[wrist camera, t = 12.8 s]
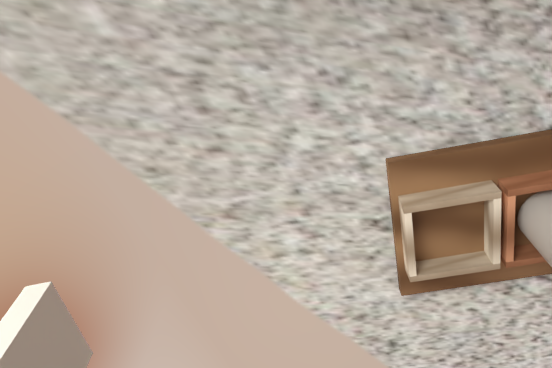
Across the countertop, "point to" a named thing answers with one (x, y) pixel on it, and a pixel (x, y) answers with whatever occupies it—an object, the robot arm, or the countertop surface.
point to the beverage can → (538, 222)
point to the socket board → (467, 212)
